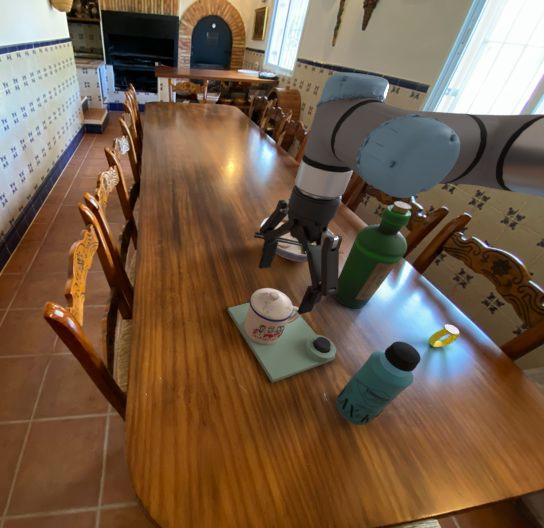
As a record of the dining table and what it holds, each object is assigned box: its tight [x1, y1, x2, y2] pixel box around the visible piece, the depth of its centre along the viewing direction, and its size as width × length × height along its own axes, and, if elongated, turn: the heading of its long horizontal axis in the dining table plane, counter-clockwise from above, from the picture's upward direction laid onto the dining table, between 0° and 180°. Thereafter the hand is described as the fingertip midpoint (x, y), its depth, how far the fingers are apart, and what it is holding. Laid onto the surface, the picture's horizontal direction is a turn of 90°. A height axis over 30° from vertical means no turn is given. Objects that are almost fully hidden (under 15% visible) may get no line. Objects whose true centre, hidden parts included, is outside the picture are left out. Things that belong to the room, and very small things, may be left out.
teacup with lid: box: [244, 287, 301, 345], centre depth 65 cm, size 12×9×12 cm
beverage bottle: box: [335, 341, 422, 426], centre depth 50 cm, size 6×7×20 cm
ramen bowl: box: [253, 214, 344, 263], centre depth 92 cm, size 25×23×8 cm
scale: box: [227, 301, 337, 384], centre depth 68 cm, size 20×16×3 cm
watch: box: [428, 323, 461, 349], centre depth 68 cm, size 6×3×6 cm, turn 100°
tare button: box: [314, 336, 331, 353], centre depth 63 cm, size 3×3×2 cm
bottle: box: [333, 200, 412, 309], centre depth 71 cm, size 11×11×28 cm
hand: (282, 287), depth 60 cm, fingers open, 13 cm apart
